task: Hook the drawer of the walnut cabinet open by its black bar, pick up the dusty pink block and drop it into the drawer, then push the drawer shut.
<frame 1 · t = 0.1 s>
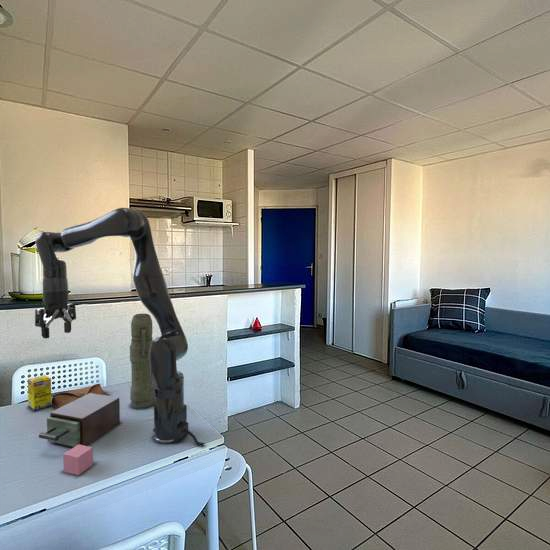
hand: (57, 335, 123), 29 cm above the table, tool pointing down, fingers open, 8 cm apart
supplement box: (40, 407, 132), on the table
drawer: (74, 425, 110), point 5 cm above the table, slide at 0.5 cm
cabinet: (87, 431, 115), on the table
sunglasses case: (80, 400, 138), on the table
block: (78, 468, 96), on the table
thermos: (143, 404, 136), on the table
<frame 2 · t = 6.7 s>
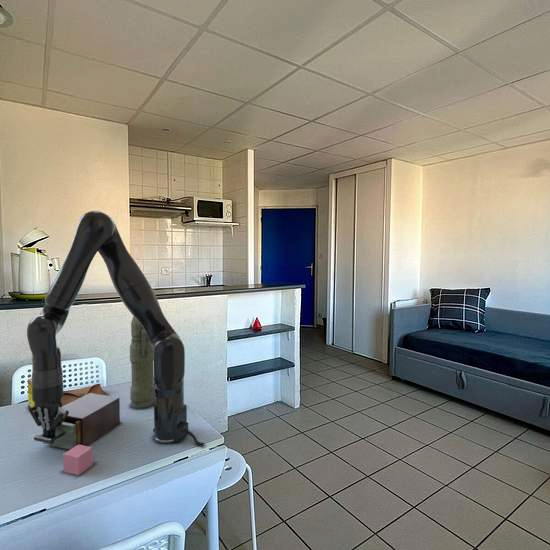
hand: (49, 440, 102), 4 cm above the table, tool pointing down, fingers closed
drawer: (70, 427, 108), point 5 cm above the table, slide at 2.0 cm, touching gripper
everything else where it was.
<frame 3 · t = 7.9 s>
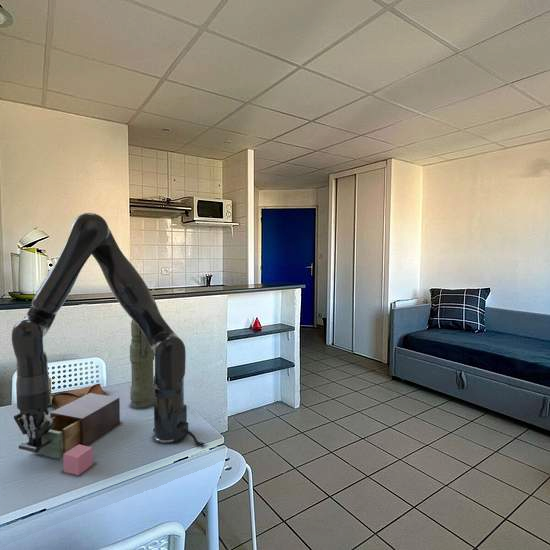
hand: (35, 449, 97), 4 cm above the table, tool pointing down, fingers closed
drawer: (58, 434, 104), point 5 cm above the table, slide at 6.4 cm
everything else where it was.
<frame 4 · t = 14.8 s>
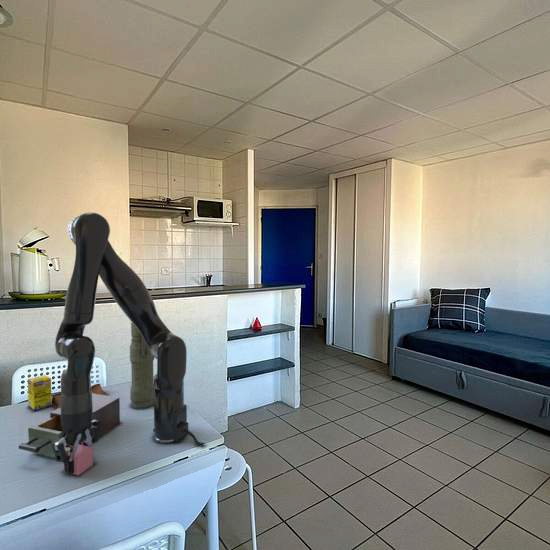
hand: (78, 466, 96), 0 cm above the table, tool pointing down, fingers closed on block, 5 cm apart
block: (78, 468, 96), on the table, touching gripper
everything else where it was.
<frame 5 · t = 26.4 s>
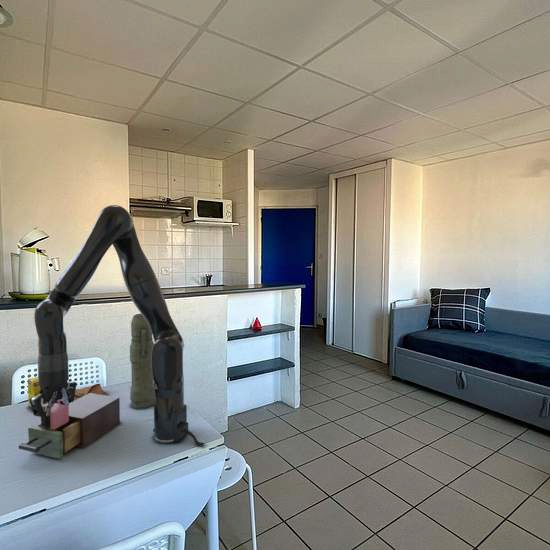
hand: (55, 422, 103), 9 cm above the table, tool pointing down, fingers closed on block, 5 cm apart
block: (55, 424, 103), point 8 cm above the table, touching gripper
everything else where it was.
when the fingers open (10 cm above the table, at t = 32.4 s): block drops 8 cm, resting on drawer.
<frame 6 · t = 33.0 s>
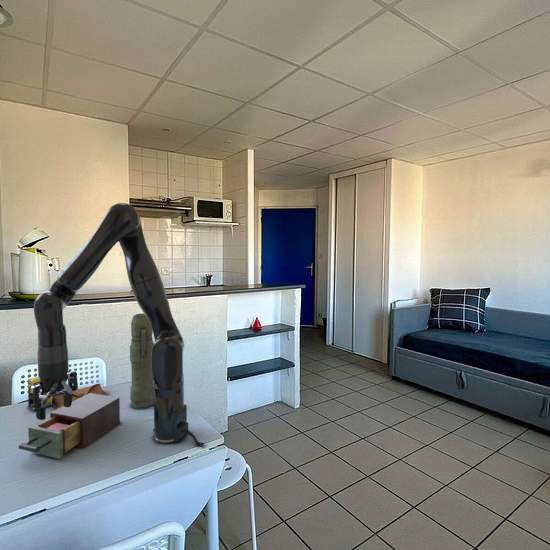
hand: (55, 412, 103), 12 cm above the table, tool pointing down, fingers open, 8 cm apart
drawer: (58, 434, 104), point 5 cm above the table, slide at 6.4 cm, touching block
block: (56, 444, 104), point 2 cm above the table, touching drawer
everything else where it was.
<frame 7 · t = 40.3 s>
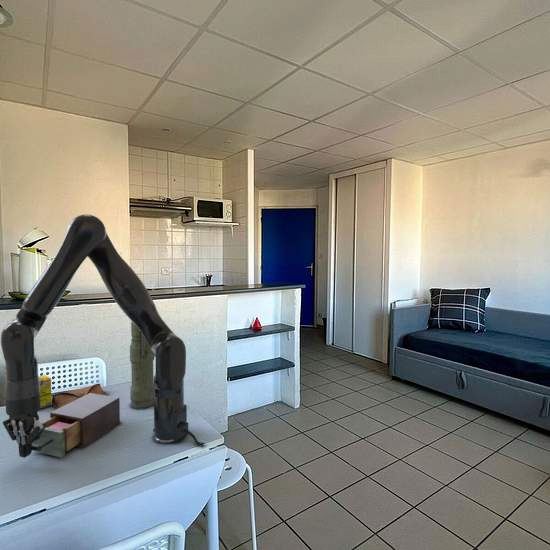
hand: (25, 455, 94), 4 cm above the table, tool pointing down, fingers closed
drawer: (60, 433, 105), point 5 cm above the table, slide at 5.8 cm, touching block, gripper
everything else where it was.
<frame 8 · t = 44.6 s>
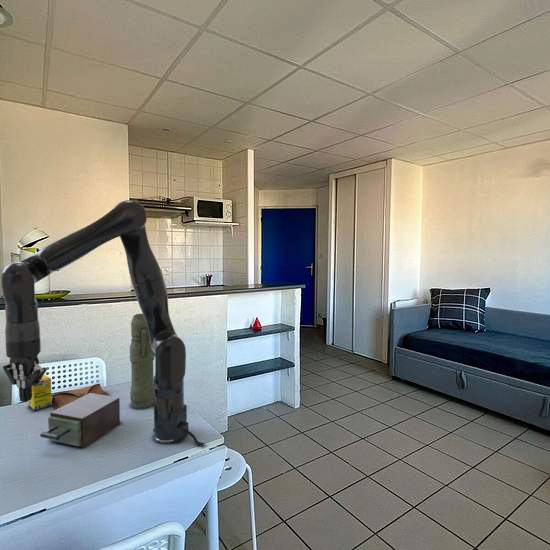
hand: (25, 400, 94), 19 cm above the table, tool pointing down, fingers closed
drawer: (76, 424, 110), point 5 cm above the table, slide at 0.0 cm, touching block, cabinet
block: (74, 433, 110), point 2 cm above the table, touching drawer
everything else where it was.
at the end: drawer pulled out 6.4 cm at the most during the clip and back in by the end; block inside the target area in the cabinet (5.0 cm from its centre), point 2.0 cm above the cabinet's base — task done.
